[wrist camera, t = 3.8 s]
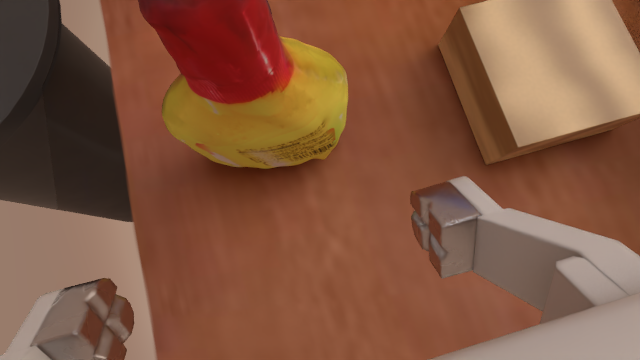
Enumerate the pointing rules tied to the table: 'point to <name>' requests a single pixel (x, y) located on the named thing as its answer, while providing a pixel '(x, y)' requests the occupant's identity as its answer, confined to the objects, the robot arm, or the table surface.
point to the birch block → (541, 72)
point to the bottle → (247, 85)
